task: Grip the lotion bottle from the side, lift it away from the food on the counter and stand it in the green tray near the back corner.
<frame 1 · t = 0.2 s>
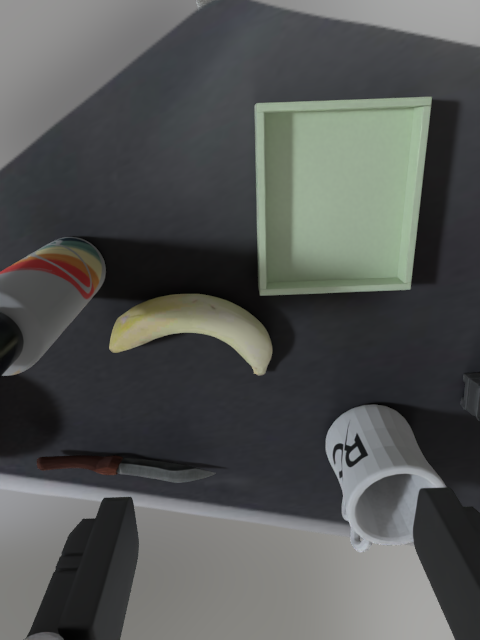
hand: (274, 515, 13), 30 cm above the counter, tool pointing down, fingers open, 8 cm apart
mug: (359, 448, 49), on the counter
lotion bottle: (76, 266, 41), on the counter
knife: (131, 457, 49), on the counter
green tray: (333, 199, 39), on the counter
fruit: (192, 332, 43), on the counter
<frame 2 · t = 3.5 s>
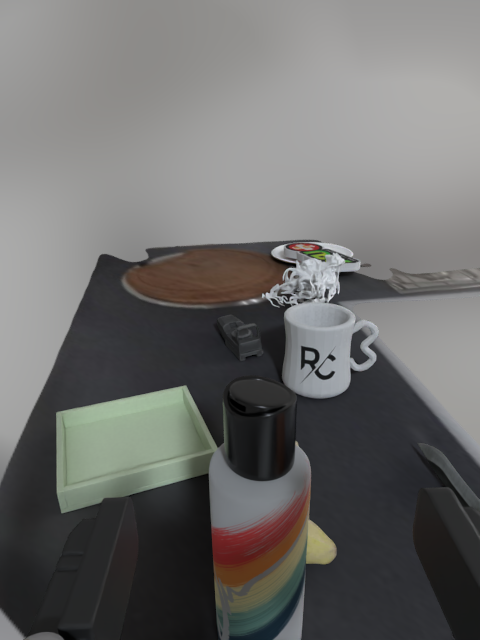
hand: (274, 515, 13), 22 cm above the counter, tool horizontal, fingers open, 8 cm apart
figurine: (302, 252, 81), point 11 cm above the counter
sign: (335, 253, 109), point 3 cm above the counter, touching plate
mug: (327, 383, 61), on the counter
lotion bottle: (259, 638, 31), on the counter
knife: (471, 520, 40), on the counter
green tray: (134, 448, 49), on the counter
fruit: (286, 504, 42), on the counter
reflex sight: (239, 345, 72), on the counter
plate: (311, 257, 117), on the counter, touching sign
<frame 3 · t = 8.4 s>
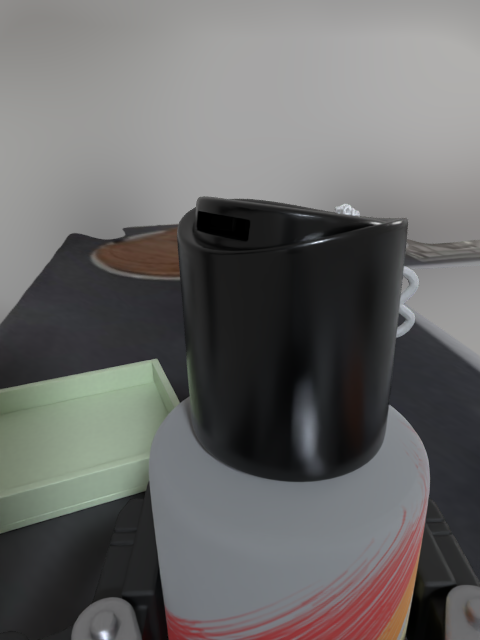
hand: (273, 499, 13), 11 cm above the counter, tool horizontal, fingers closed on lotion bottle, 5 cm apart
mug: (349, 356, 46), on the counter
green tray: (77, 446, 33), on the counter
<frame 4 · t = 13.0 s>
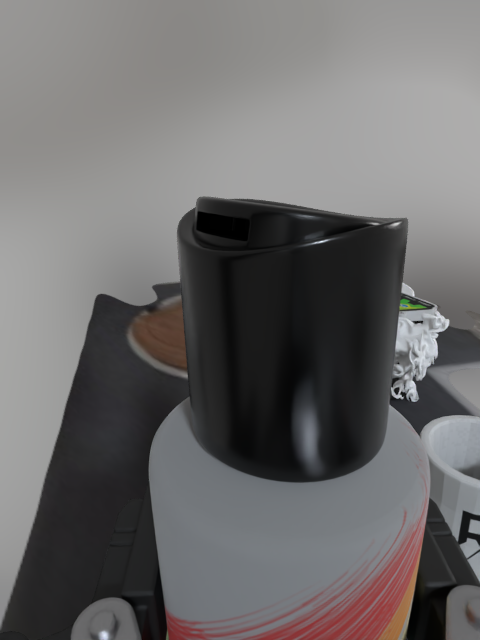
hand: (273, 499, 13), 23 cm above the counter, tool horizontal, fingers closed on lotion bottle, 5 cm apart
figurine: (385, 309, 58), point 11 cm above the counter
sign: (396, 293, 87), point 3 cm above the counter, touching plate
mug: (479, 545, 38), on the counter
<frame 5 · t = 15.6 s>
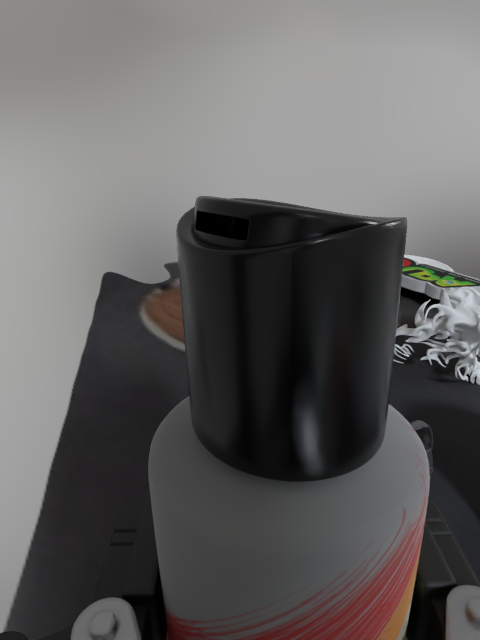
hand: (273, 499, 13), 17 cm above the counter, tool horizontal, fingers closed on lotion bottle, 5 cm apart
figurine: (445, 277, 50), point 11 cm above the counter
sign: (436, 271, 79), point 3 cm above the counter, touching plate
reflex sight: (373, 448, 40), on the counter
when the fingers open (11 cm above the counter, at t = 17.6 s): lotion bottle stays where it is, resting on green tray.
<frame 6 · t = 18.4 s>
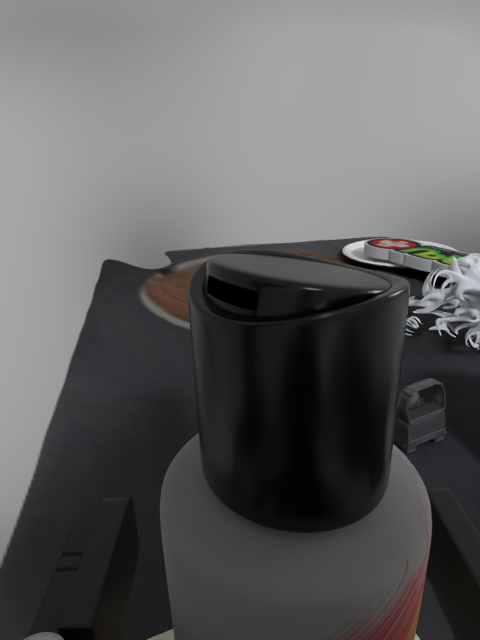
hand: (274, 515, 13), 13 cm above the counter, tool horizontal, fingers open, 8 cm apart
figurine: (453, 244, 49), point 11 cm above the counter
sign: (442, 252, 77), point 3 cm above the counter, touching plate
reflex sight: (382, 413, 39), on the counter
plate: (398, 258, 84), on the counter, touching sign
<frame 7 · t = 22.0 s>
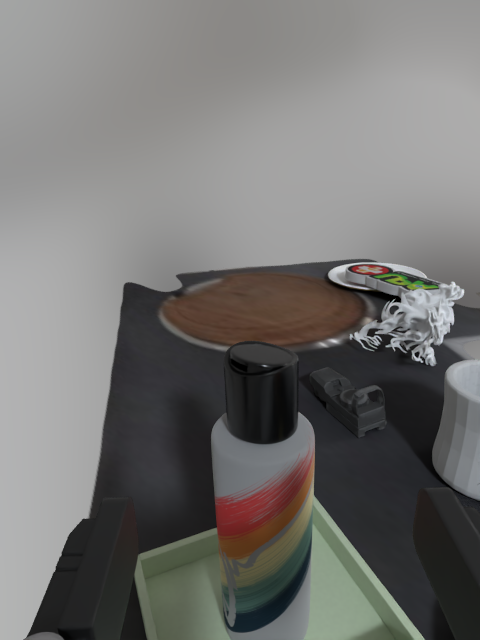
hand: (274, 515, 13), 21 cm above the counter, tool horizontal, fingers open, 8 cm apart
figurine: (404, 281, 64), point 11 cm above the counter
sign: (410, 277, 92), point 3 cm above the counter, touching plate
lotion bottle: (266, 620, 30), resting on green tray
green tray: (264, 621, 31), on the counter
reflex sight: (345, 410, 54), on the counter
plate: (375, 280, 99), on the counter, touching sign
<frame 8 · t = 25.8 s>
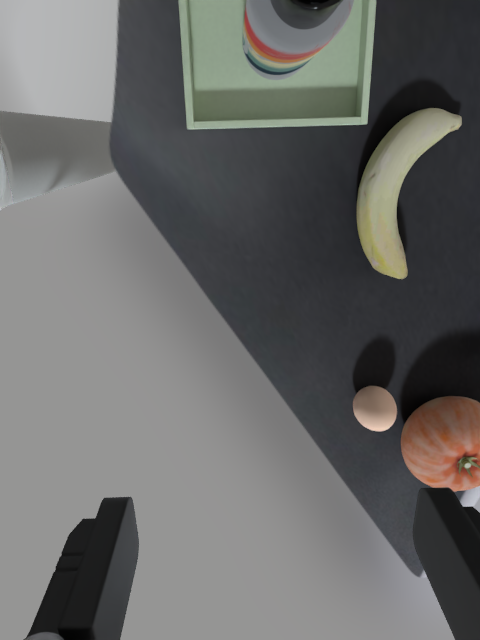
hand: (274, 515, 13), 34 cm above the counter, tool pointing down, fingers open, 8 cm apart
lotion bottle: (276, 43, 37), resting on green tray
green tray: (274, 41, 38), on the counter
fruit: (400, 196, 43), on the counter
egg: (367, 393, 51), on the counter
tomato: (436, 421, 53), on the counter
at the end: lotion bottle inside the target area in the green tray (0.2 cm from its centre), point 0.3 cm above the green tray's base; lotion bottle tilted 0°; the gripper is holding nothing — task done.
